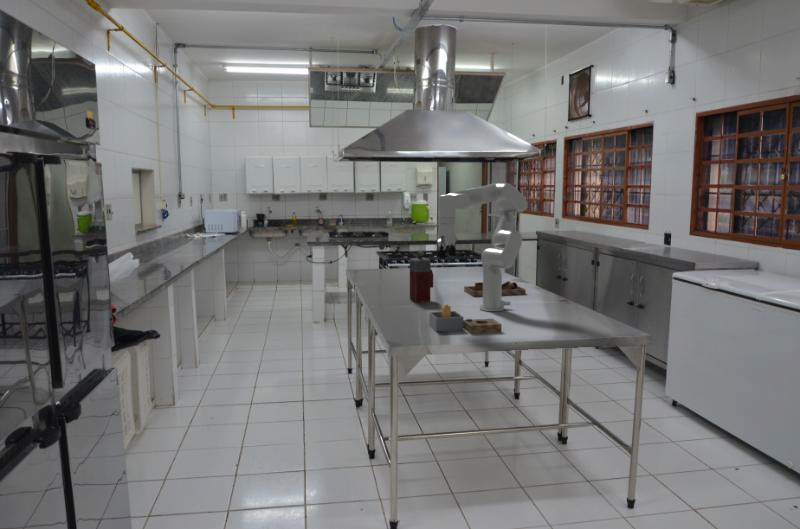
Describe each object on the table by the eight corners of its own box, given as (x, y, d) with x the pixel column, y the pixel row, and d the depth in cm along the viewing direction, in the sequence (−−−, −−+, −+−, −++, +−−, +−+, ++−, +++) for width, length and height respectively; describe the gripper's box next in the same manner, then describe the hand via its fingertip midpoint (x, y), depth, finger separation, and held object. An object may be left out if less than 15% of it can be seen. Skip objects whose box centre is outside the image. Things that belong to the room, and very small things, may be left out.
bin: (455, 323, 262) (455, 311, 261) (463, 330, 250) (463, 317, 249) (429, 325, 259) (429, 312, 259) (436, 331, 247) (436, 318, 247)
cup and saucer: (489, 292, 340) (489, 281, 339) (492, 295, 328) (492, 285, 327) (469, 292, 340) (469, 281, 339) (471, 295, 328) (471, 285, 328)
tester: (492, 326, 257) (492, 317, 257) (501, 332, 247) (501, 322, 246) (462, 327, 255) (463, 318, 254) (470, 333, 244) (470, 324, 243)
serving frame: (514, 289, 347) (514, 284, 347) (525, 294, 331) (525, 289, 330) (464, 291, 341) (464, 286, 341) (473, 296, 325) (473, 291, 324)
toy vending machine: (434, 301, 313) (434, 250, 310) (415, 302, 309) (415, 251, 306) (427, 298, 322) (427, 249, 318) (409, 299, 318) (409, 250, 314)
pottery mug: (510, 296, 328) (503, 283, 329) (500, 301, 336) (493, 288, 337) (523, 289, 334) (516, 276, 335) (514, 293, 342) (507, 281, 343)
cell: (449, 324, 257) (449, 303, 256) (451, 326, 253) (451, 305, 252) (440, 325, 256) (440, 303, 255) (442, 327, 252) (443, 305, 251)
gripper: (448, 219, 275) (449, 254, 278) (431, 222, 261) (431, 259, 263) (462, 219, 271) (462, 255, 274) (445, 222, 257) (445, 260, 259)
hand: (447, 257), depth 268 cm, fingers open, 9 cm apart
